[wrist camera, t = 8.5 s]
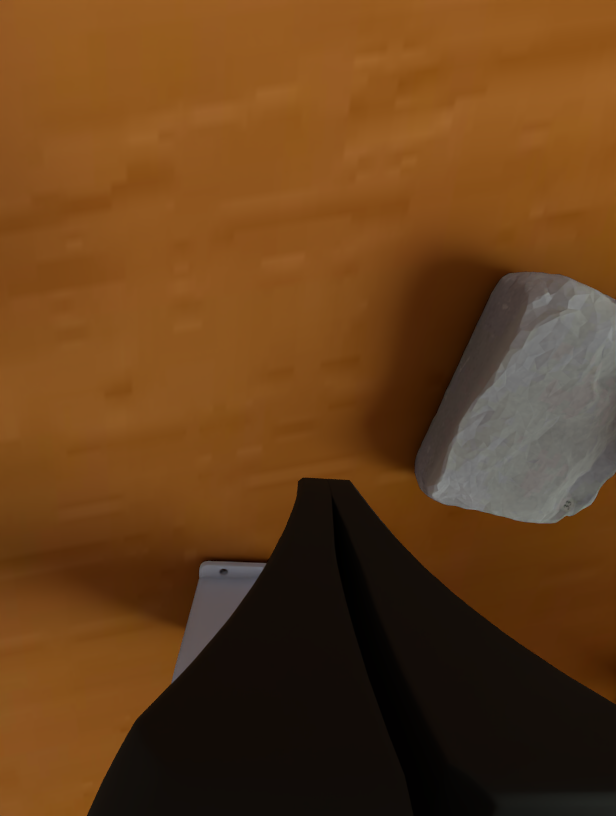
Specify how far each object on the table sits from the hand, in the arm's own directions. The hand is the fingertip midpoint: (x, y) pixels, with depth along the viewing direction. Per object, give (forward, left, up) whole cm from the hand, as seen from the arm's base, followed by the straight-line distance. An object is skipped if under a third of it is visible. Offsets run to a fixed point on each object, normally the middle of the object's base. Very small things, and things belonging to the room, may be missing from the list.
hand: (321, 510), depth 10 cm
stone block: (+12, 0, -11) cm, 16 cm away
